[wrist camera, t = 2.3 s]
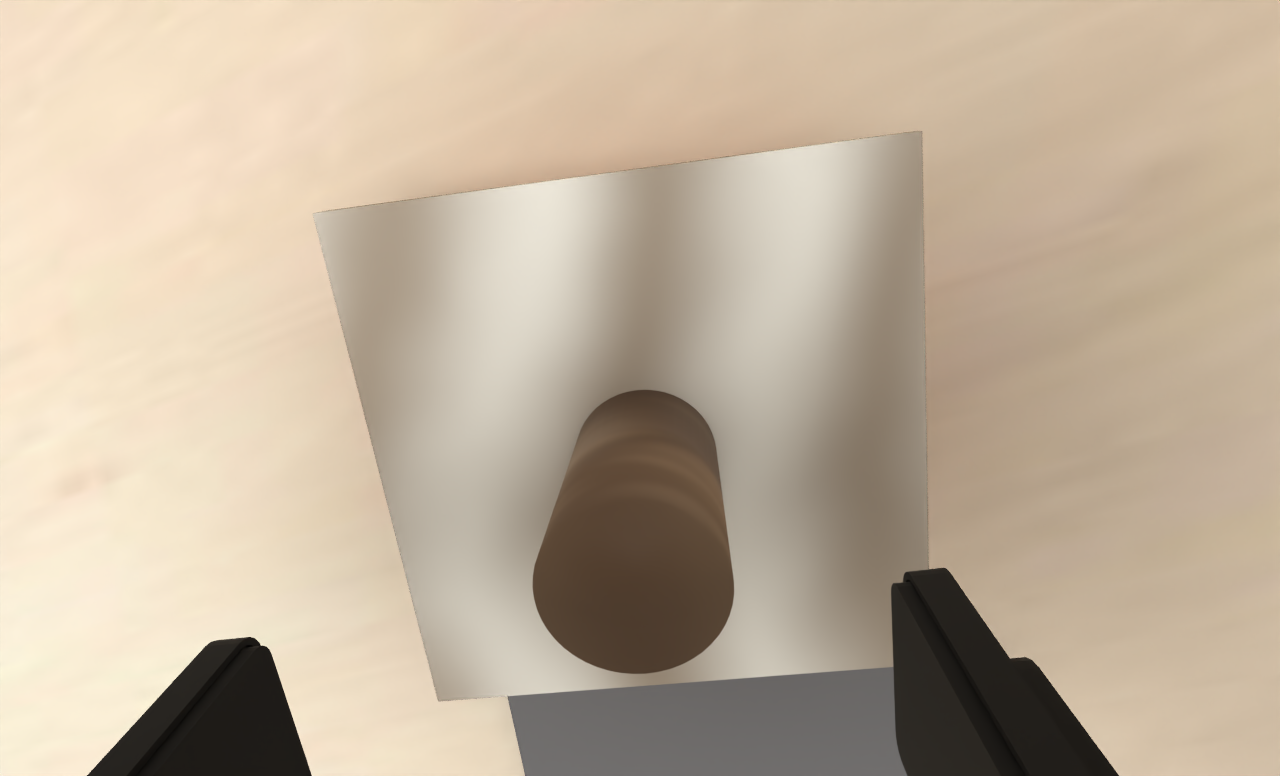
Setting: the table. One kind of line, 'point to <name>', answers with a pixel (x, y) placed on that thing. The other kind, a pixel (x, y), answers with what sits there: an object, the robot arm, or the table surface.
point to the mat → (716, 728)
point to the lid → (649, 414)
